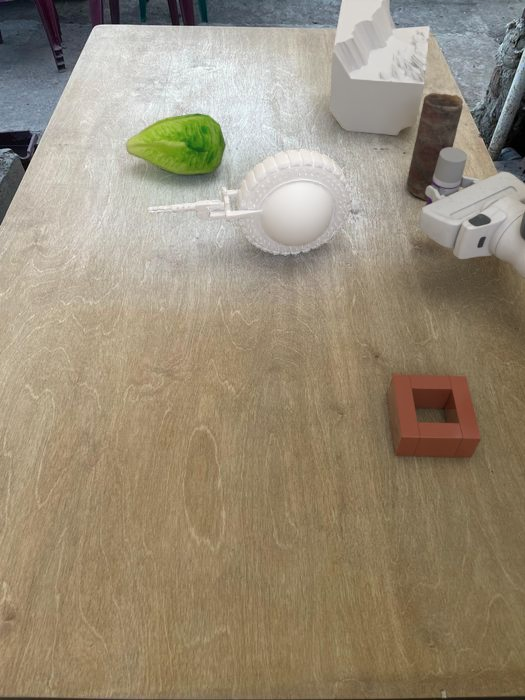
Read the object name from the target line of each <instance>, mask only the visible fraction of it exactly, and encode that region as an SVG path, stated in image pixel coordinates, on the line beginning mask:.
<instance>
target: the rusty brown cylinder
mask: <svg viewBox="0 0 525 700" xmlns="http://www.w3.org/2000/svg"><path fill="white" fill-rule="evenodd" d="M463 102H464V101H463V99H462V98H461V97H460V96H459V95H457V94H454V95H452V94H448V93H435V92H430V93H429V94H426V96H424V97H423V102H422V108H421V112H420V117H419V123H418V128H417V133H416V137H415V142H414V146H413V151H412V154H411V155H412V156H411V159H410V166H409V170H408V175H407V179H406V180H407V181H406V186H407V189H408V190H409V191H410V192H411V193H412V195H413V196H416V197H417V198H420V199H422V200H423V201H427V199H428V196H427V195H426V194H425V191H426V187H427V186H430V185H431V183H432V179H433V175H434V172H435V168H436V165H437V161H438V158H439V154H440V151H441V150H442V149H444V148H447V147H454V144H455V140H456V136H457V132H458V127H459V124H460V120H461V116H462V111H463V106H464V105H463Z"/></svg>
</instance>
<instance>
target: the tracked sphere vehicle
mask: <svg viewBox="0 0 525 700" xmlns="http://www.w3.org/2000/svg"><path fill="white" fill-rule="evenodd" d="M252 168H253V169H250V170H249V171H248V172H247V173H246V175H245V178H243V179H242V181H241V183H240V185H239V188H238V189H228V188H227V186H222V187H221V190H220V195H221V200H220V199H218V198H217V199H205V200H196V201H195V202H184V203H174V204H171V205H159V206H157V205H154V206H149V207H147V214H149V215H154V214H155V215H158V214H163V213H164V214H167V213H186V212H194V211H195V212H196V218H197V220H201V221H222V220H225V223H230V222H231V221H232V220H238V223H239V227H240V230H241V233H242V234H243V237H245V239H246V240H247V241H248V242H249V243H250V244H251V245H252V246H254V247H255V249H257V250H258V249H260V251H262V252H263V253H269V254H272V255H274V256H279V255H280V256H284V257H287V256H290V255H291V256H297V255H300V254H301V253H302V254H308V253H309V252H311V251H312V250H315V249H316V250H318V249H319V247H322V245H325V244H328V242H329V241H331V239H333V238H334V237H337V234H338V233H339V231H341V230H342V229H344V226H345V224H346V222H347V220H349V216H350V213H351V210H352V205H353V204H352V202H353V196H352V195H353V194H352V190H351V187H350V184H349V182H348V180H347V177H346V175H345V173H344V171H343V169H342V168H341V167H340V165H339V164H338V163H337V161H335V160H334V159H333V158H331V157H329V156H328V155H326V154H325V153H321V151H316V150H312V149H311V150H309V149H305V148H302V149H301V148H299V149H297V148H295V149H292V148H290V149H288V150H286V152H285V150H283V151H278V152H277V153H274V156H273V155H270V156H266V158H264V159H262V161H260V162H258V163H256V165H254V166H253V167H252ZM233 198H235V210H231V202H230V199H233Z"/></svg>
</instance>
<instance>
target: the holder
mask: <svg viewBox="0 0 525 700" xmlns="http://www.w3.org/2000/svg"><path fill="white" fill-rule="evenodd" d="M391 374H392V373H391ZM386 399H387V407H388V414H389V421H390V422H389V423H390V429H391V436H392V444H393V451H394V456H395V457H425V458H426V457H429V458H472V457H473V455H474V454H475V452H476V450H477V448H478V446H479V444H480V442H481V440H482V436H481V432H480V429H479V428H480V427H479V424H478V419H477V416H476V412H475V408H474V404H473V399H472V395H471V391H470V387H469V383H468V379H467V376H466V375H444V374H443V375H442V374H441V375H440V374H439V375H438V374H437V375H436V374H402V373H401V374H399V373H398V374H396V373H394V374H392V375H391V377H390V381H389V384H388V389H387V392H386ZM416 409H429V410H430V409H431V410H444V416H445V420H446V422H429V421H428V422H427V421H426V422H423V421H418V418H417V411H416Z"/></svg>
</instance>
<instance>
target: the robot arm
mask: <svg viewBox="0 0 525 700" xmlns="http://www.w3.org/2000/svg"><path fill="white" fill-rule="evenodd" d="M459 188H462V189H460V190H458V192H456V193H453V194H451V195H449V196H447V197H446V196H444V195H441V196H440V194H439V191H440V187H438V186H436V185H435V184H432V185H430V186H427V187H426V191H425V194H426V195H427V196H428V197H429V198H431V199H432V203H431V204H429V205H427V206H426V205H424V206H422V208H421V209H420V212H419V216H418V220H417V221H418V223H417V224H418V228H419V230H420V231H421V232H422V233H423V234H425V235H426V236H427V237H428V238H430V239H431V240H433V241H434V242H436V243H437V244H439V245H440V246H442V247H443V248H446V249H453V253H452V254H453V255H454V256H455V257H456V258H457V259H460V260H467V259H472V258H479V257H492V256H494V257H495V258H496V259H498V260H499V261H502V262H504V263H507V264H509V265H510V266H511V267H512V268H513V269H514V271H515V272H516V273H517V274H518V275H519V276H520V277H522V278H523V279H525V182H523V181H522V180H521V179H519V178H518V177H517V176H515V175H514V174H513V173H511V172H508V171H500V172H498V173H496V174H493V175H491V176H489V177H487V178H484V179H482V180H481V179H479V178H476V177H471V176H466V175H464V174H463V175H462V179H461V183H460V187H459Z"/></svg>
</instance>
